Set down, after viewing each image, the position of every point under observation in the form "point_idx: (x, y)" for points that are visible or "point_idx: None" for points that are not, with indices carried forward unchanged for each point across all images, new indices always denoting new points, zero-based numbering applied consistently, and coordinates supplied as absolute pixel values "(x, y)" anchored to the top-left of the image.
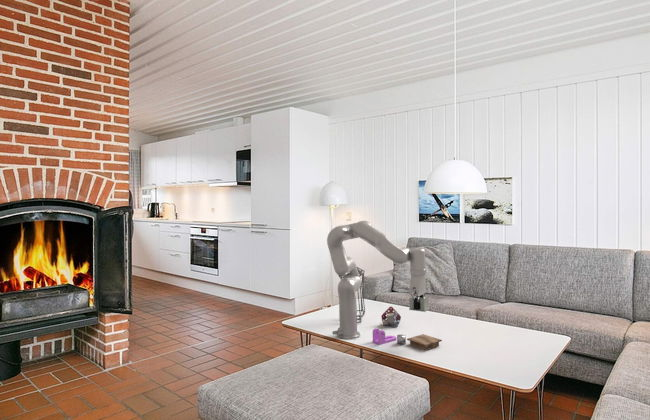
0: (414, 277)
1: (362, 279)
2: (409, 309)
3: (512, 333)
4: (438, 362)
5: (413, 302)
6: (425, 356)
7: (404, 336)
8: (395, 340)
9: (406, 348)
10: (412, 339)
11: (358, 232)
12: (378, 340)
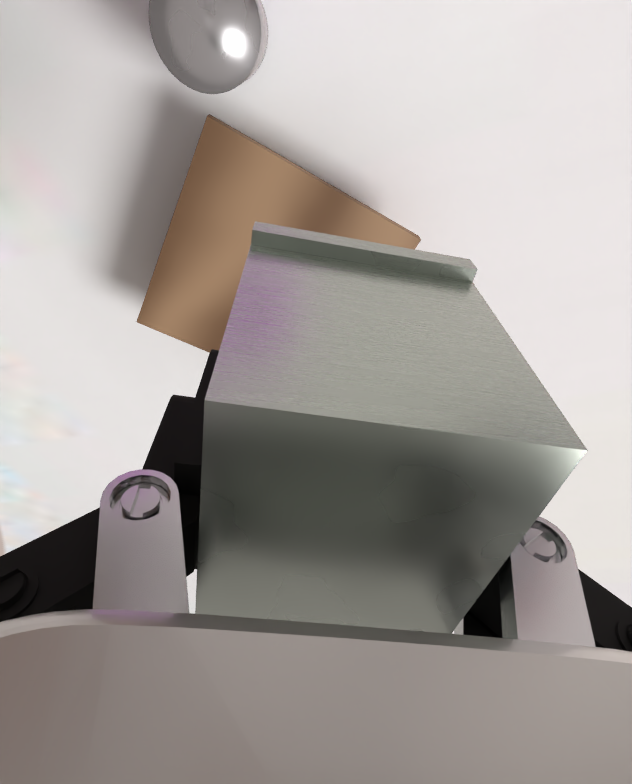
0: None
1: None
2: (252, 232)
3: (621, 589)
4: (15, 403)
5: (181, 440)
6: (50, 321)
7: (202, 81)
8: None
9: (113, 134)
10: (212, 182)
11: None
12: None
